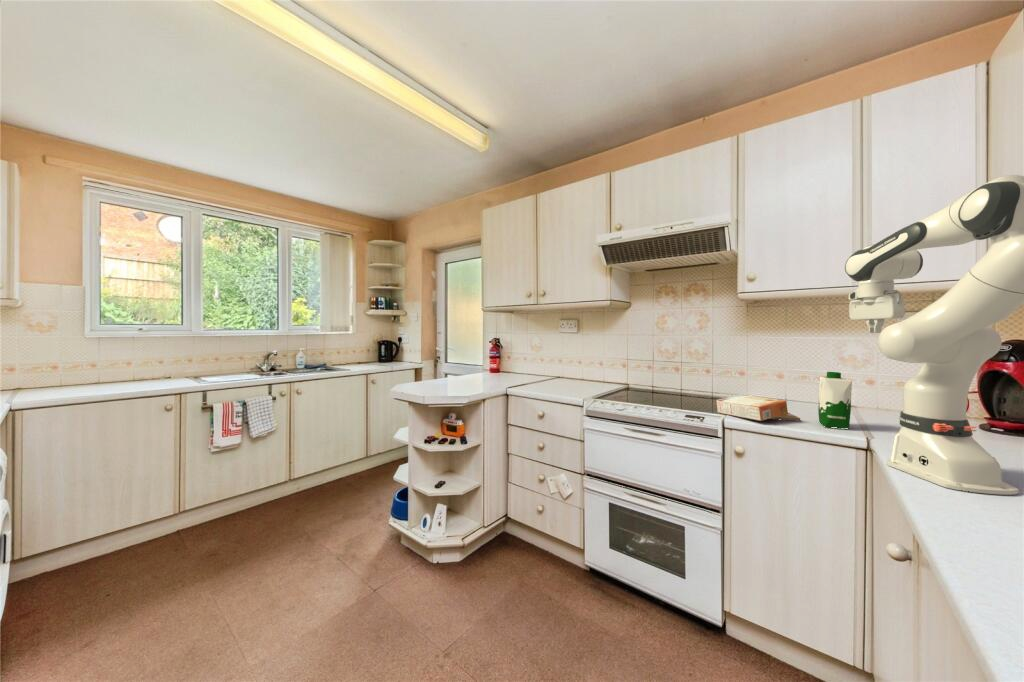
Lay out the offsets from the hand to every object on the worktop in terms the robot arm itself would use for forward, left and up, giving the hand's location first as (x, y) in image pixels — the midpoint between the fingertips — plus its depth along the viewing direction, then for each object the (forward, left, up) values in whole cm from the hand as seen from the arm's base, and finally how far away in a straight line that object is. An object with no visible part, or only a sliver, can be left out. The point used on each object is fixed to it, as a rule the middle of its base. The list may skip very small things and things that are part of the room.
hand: (874, 332), depth 128 cm
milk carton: (+7, +7, -35) cm, 37 cm away
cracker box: (+8, +27, -30) cm, 41 cm away
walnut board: (+23, +23, -35) cm, 48 cm away
